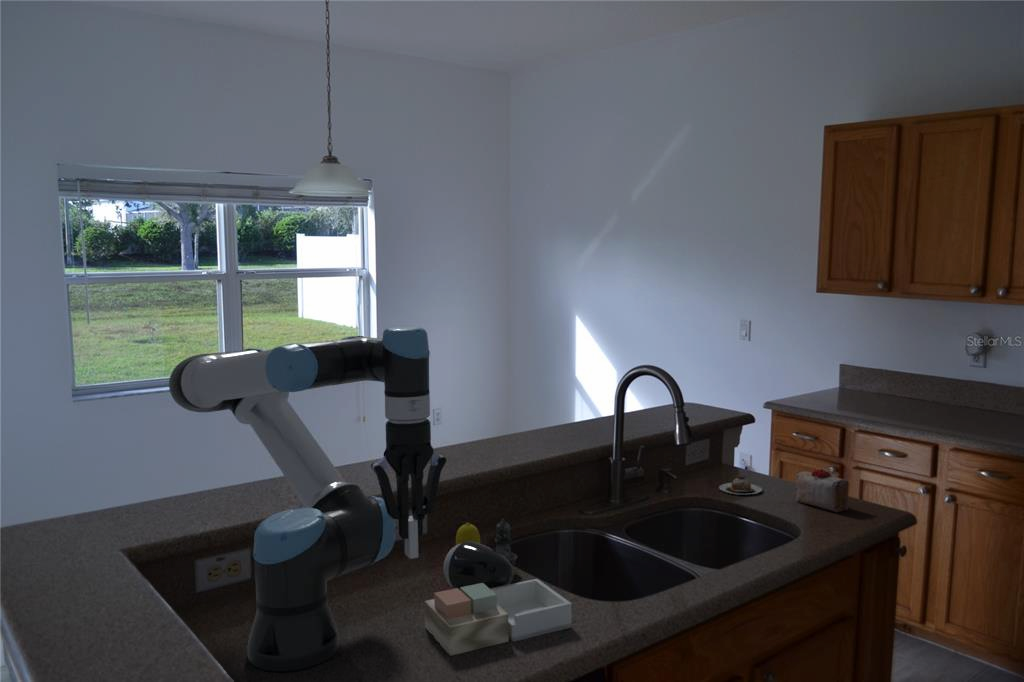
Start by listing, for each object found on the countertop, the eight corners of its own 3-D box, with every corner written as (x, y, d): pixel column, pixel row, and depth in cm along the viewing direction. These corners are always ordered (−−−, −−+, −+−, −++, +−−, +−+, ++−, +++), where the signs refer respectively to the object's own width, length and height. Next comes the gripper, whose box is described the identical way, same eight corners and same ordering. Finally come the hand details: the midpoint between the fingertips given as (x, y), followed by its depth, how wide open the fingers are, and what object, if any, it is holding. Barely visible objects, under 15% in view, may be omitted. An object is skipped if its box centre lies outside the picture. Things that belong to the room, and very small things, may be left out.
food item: (790, 502, 218) (791, 467, 217) (808, 497, 222) (809, 462, 221) (834, 514, 207) (835, 477, 206) (852, 509, 211) (853, 472, 210)
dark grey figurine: (484, 575, 168) (484, 520, 167) (498, 566, 173) (497, 512, 172) (509, 580, 166) (508, 524, 164) (522, 570, 171) (521, 516, 170)
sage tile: (473, 613, 138) (473, 599, 138) (460, 600, 144) (460, 587, 143) (496, 608, 140) (496, 594, 140) (482, 595, 146) (482, 582, 145)
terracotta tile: (447, 619, 136) (446, 605, 136) (434, 606, 141) (434, 592, 141) (471, 614, 138) (470, 600, 138) (457, 601, 143) (457, 588, 143)
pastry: (763, 499, 222) (763, 483, 222) (719, 496, 225) (719, 480, 225) (760, 487, 234) (760, 472, 234) (718, 485, 237) (718, 470, 236)
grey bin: (512, 641, 138) (512, 617, 138) (481, 613, 150) (481, 590, 149) (571, 627, 143) (571, 603, 143) (537, 600, 155) (537, 578, 155)
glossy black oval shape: (444, 532, 160) (501, 540, 151) (475, 547, 167) (532, 556, 157) (428, 582, 156) (485, 594, 147) (461, 596, 163) (518, 608, 153)
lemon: (452, 560, 177) (452, 526, 176) (460, 552, 182) (459, 518, 181) (476, 562, 176) (476, 527, 175) (483, 553, 181) (482, 519, 180)
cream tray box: (450, 655, 133) (449, 627, 133) (425, 627, 144) (424, 601, 144) (508, 641, 138) (508, 613, 138) (480, 615, 149) (479, 589, 149)
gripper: (377, 427, 127) (381, 569, 129) (452, 419, 133) (455, 555, 135) (363, 419, 133) (368, 555, 136) (436, 412, 139) (439, 542, 141)
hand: (411, 555), depth 135 cm, fingers closed
